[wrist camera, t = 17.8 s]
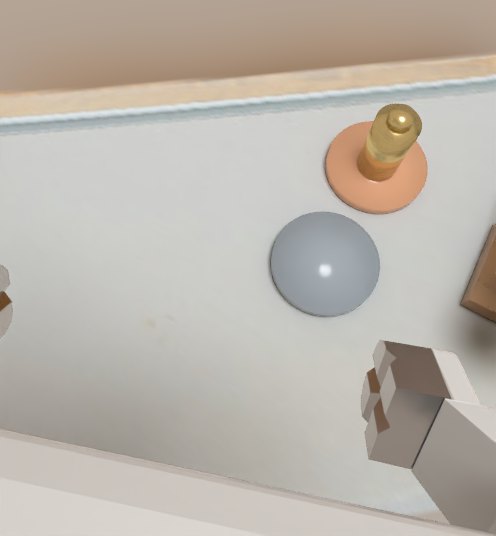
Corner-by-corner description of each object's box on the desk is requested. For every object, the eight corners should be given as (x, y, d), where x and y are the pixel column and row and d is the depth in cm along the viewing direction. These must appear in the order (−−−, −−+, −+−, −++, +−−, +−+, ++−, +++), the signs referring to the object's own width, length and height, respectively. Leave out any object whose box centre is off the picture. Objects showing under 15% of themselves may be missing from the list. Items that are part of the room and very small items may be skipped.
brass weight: (350, 170, 49) (371, 122, 41) (366, 140, 50) (390, 88, 42) (387, 188, 48) (416, 143, 40) (402, 157, 50) (434, 107, 42)
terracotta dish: (308, 185, 50) (310, 180, 49) (350, 113, 53) (352, 106, 52) (400, 231, 48) (404, 226, 47) (437, 153, 51) (442, 147, 50)
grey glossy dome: (251, 284, 46) (252, 280, 45) (300, 199, 49) (301, 194, 48) (349, 336, 44) (352, 334, 43) (392, 246, 48) (396, 241, 46)
